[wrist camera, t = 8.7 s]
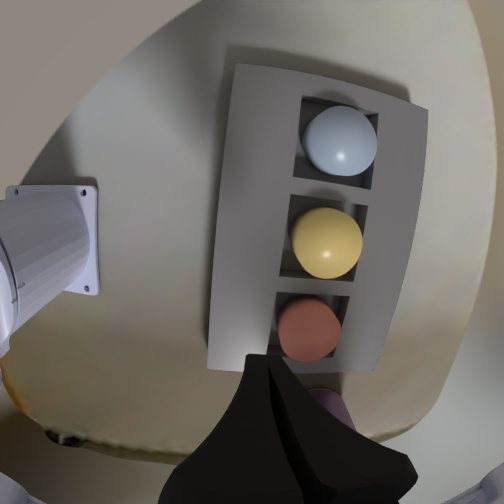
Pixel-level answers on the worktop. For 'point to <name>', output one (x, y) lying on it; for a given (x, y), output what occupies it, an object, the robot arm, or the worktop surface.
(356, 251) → the ochre button
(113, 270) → the worktop surface
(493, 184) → the worktop surface
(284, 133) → the panel
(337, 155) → the slate button
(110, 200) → the worktop surface
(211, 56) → the worktop surface
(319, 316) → the brick button
